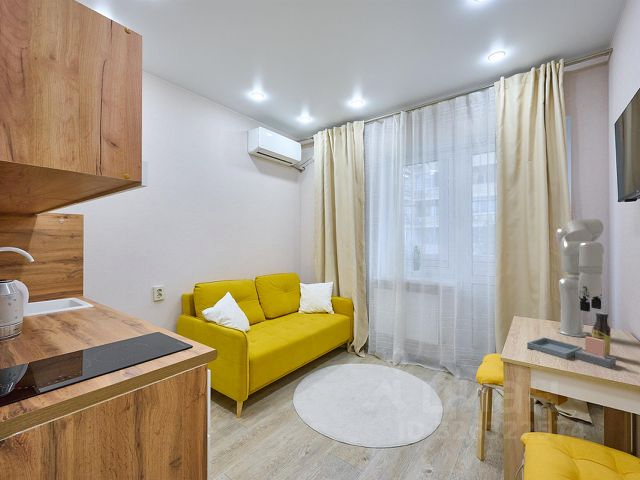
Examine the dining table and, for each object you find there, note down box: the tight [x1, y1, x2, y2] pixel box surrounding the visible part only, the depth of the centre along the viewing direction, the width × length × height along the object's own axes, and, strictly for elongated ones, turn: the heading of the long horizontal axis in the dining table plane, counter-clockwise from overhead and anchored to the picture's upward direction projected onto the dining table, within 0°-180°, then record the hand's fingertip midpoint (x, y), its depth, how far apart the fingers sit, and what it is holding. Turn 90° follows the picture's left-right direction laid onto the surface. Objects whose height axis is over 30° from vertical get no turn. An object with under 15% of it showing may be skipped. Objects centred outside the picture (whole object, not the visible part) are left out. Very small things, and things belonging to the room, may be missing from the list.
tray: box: [526, 336, 583, 360], centre depth 139 cm, size 16×16×3 cm
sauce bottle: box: [591, 311, 612, 356], centre depth 134 cm, size 7×6×20 cm
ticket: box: [584, 335, 605, 357], centre depth 126 cm, size 2×6×10 cm, turn 28°
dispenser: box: [574, 348, 617, 369], centre depth 126 cm, size 7×11×4 cm, turn 28°
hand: (590, 309), depth 127 cm, fingers open, 9 cm apart
